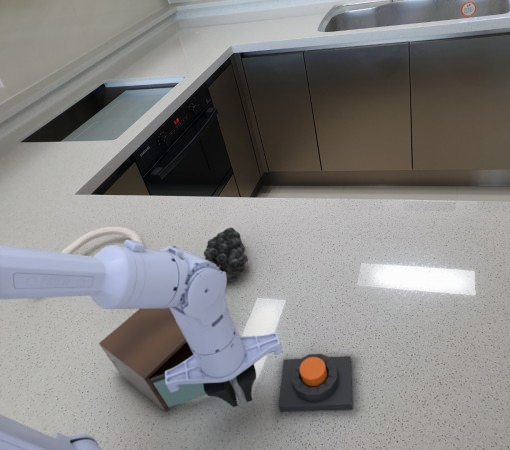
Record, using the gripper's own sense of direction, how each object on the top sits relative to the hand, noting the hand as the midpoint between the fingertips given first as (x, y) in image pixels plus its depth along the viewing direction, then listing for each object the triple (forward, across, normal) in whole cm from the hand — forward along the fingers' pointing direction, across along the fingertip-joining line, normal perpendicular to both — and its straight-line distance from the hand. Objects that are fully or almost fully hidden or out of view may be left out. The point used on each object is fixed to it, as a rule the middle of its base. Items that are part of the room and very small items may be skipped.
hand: (241, 397), depth 62 cm
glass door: (+2, +4, -2) cm, 5 cm away
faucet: (+4, +24, -43) cm, 49 cm away
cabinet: (+3, +9, -13) cm, 16 cm away
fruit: (+4, -3, -32) cm, 32 cm away
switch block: (+3, -10, 0) cm, 11 cm away
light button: (+1, -10, 0) cm, 10 cm away
